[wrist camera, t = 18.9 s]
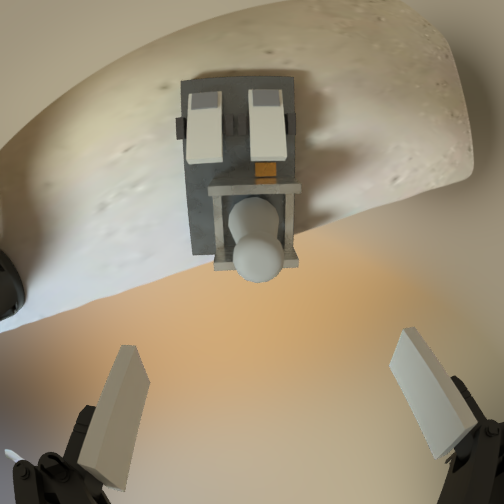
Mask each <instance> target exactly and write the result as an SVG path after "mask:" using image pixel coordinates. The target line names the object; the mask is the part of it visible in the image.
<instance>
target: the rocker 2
mask: <svg viewBox="0 0 504 504" xmlns="http://www.w3.org/2000/svg"><path fill="white" fill-rule="evenodd" d="M248 104H249V130H250V155H251V161H285V159H286V158H287V148H286V134H285V121H284V109H283V98H282V90H248Z"/></svg>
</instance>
